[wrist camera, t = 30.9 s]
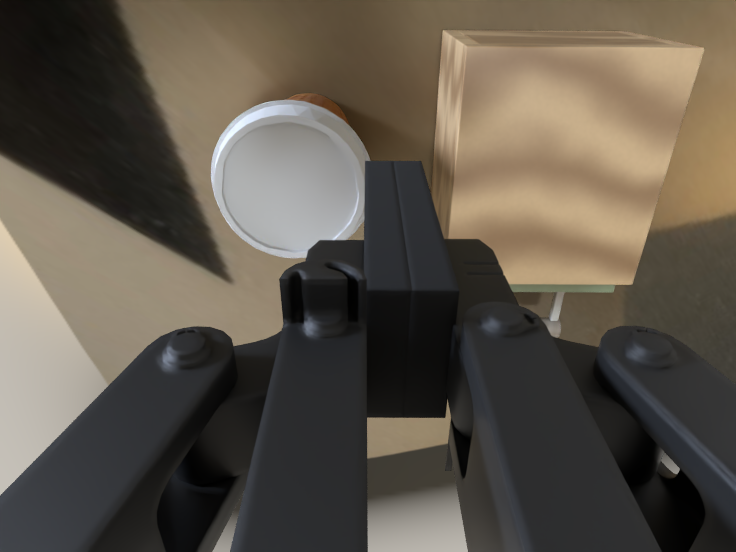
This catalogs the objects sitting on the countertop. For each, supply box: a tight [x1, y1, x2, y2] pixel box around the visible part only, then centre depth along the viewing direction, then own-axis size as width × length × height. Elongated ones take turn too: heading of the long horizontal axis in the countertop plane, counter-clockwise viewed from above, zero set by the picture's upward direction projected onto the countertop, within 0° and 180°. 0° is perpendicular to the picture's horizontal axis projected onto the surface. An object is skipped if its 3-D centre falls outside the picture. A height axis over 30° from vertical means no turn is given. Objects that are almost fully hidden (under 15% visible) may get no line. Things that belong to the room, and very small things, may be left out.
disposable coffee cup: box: [211, 93, 371, 258], centre depth 34 cm, size 10×10×12 cm
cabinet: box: [431, 30, 704, 285], centre depth 35 cm, size 15×13×10 cm
